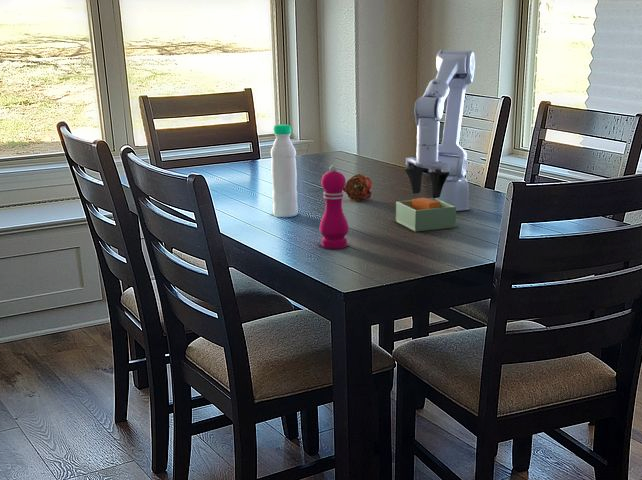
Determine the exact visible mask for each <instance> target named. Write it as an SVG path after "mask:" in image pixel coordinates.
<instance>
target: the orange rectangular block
mask: <svg viewBox="0 0 642 480" xmlns="http://www.w3.org/2000/svg"><path fill="white" fill-rule="evenodd" d="M411 200H412V208H413V209H415V210H424V209H434V208H440V202H439V201H435V200H431V199H429V198H427V197H417V198H412V199H411Z"/></svg>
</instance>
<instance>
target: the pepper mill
mask: <svg viewBox="0 0 642 480" xmlns="http://www.w3.org/2000/svg"><path fill="white" fill-rule="evenodd" d="M337 170H338V166H337V165H336V164H331V165H330V166H329V171H327V172H325V173H324V174H323V175H322V177H321V181H320V184H321V187H322V189H323V190H324V191H323V192H322V193H323V199H324V200H325V210H324V213H323V215H322V218H321V220H320V223H319V233H320V234H321V236H323V237H322V238H321V247H322V248H325V249H330V250H338V249H339V250H340V249H344V248H346V247H347V246H348V240H347V237H346V235H347V234H348V233H349V230H350V229H349V223H348V219H347V218H346V216H345V213H344V211H343V199H344V197H345V196H344V194H345V192H344V191H343V189H344V187H345V185H346V183H347V181H346V177H345V175H344V174H343V173H342V172H340V171H337Z"/></svg>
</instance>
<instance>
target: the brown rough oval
mask: <svg viewBox="0 0 642 480" xmlns="http://www.w3.org/2000/svg"><path fill="white" fill-rule="evenodd" d="M372 184H373V183H372V180H371V178H370V177H367V176H366V175H365V174H361V173H357V174H355V175H352V176H351V177H350V178H349V179H348V180H347V181H346V185H345V187H344V189H343V190H342V191H343V192H344V193H345V194H346V195H347V197H348V198H349V199H350V200H351V201H353V200H355V201H357V202H362V201H364V199H365V200H368V199H370V198H371V196H372V190H373V185H372Z"/></svg>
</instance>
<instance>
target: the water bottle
mask: <svg viewBox="0 0 642 480" xmlns="http://www.w3.org/2000/svg"><path fill="white" fill-rule="evenodd" d="M273 133H274V136H275V139H274V141H273V143H272V144H273V145H272V147H271V149H270V156H271V165H270V169H271V185H272V193H271V194H272V196H271V197H272V214H273V215H274V216H275V217H277V218H291V217H295V216H297V215H298V214H299V205H298V190H297V187H298V186H297V185H298V171H297V159H296V156H297V150H296V147H295V146H294V144H293V141H292V140H291V135H292V126H291V125H290V124H287V123H286V124H275V125H274V126H273Z"/></svg>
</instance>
